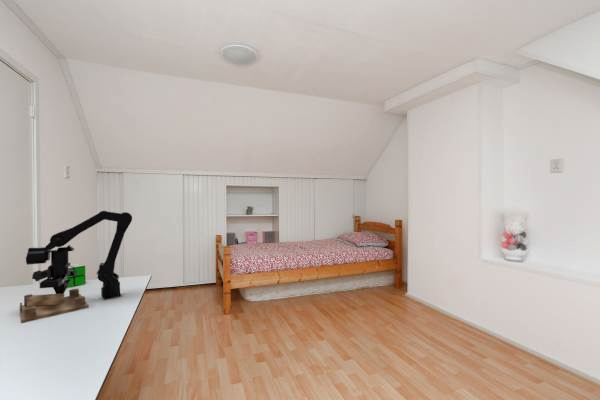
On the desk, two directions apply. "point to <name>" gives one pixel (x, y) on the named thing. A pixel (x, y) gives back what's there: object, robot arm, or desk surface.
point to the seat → (54, 307)
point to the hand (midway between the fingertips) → (59, 298)
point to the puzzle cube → (80, 275)
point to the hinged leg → (43, 299)
